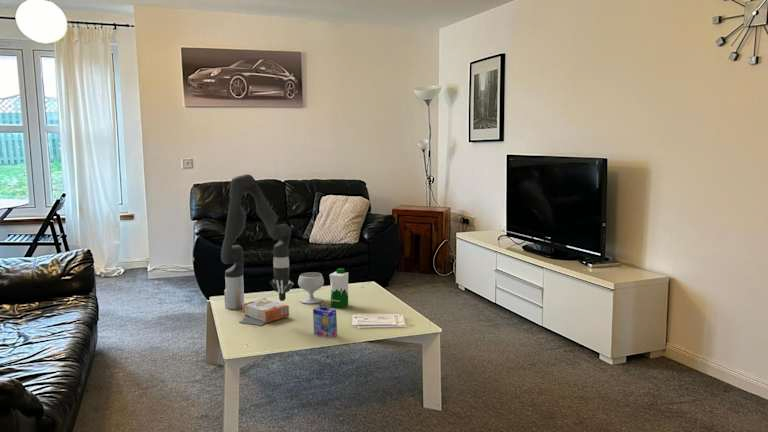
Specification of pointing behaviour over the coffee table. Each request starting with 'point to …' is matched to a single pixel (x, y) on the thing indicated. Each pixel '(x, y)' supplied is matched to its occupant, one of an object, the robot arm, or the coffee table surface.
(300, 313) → the coffee table surface
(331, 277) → the milk carton
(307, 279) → the chalice
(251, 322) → the mat
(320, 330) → the ink cartridge box
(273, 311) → the cracker box
